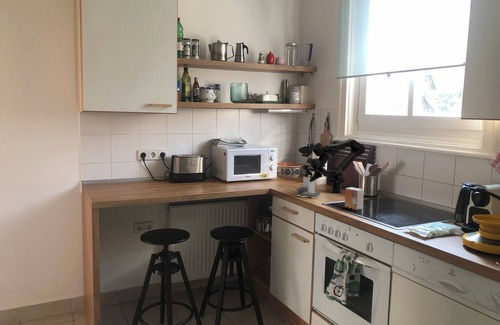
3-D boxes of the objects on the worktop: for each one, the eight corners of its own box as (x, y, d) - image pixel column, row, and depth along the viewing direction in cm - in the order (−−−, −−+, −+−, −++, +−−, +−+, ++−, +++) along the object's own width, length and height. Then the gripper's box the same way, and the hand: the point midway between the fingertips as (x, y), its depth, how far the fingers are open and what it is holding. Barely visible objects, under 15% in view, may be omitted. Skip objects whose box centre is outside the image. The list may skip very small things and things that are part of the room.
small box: (344, 207, 223) (344, 188, 222) (350, 205, 227) (351, 186, 225) (356, 210, 217) (357, 190, 216) (363, 208, 221) (363, 189, 219)
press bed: (303, 193, 259) (303, 185, 259) (319, 195, 254) (319, 187, 253) (296, 196, 251) (296, 188, 250) (313, 198, 245) (313, 190, 245)
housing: (309, 190, 255) (309, 174, 254) (314, 191, 251) (315, 175, 249) (303, 191, 252) (303, 174, 251) (308, 192, 248) (308, 176, 247)
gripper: (304, 151, 258) (290, 170, 254) (324, 154, 243) (310, 174, 238) (314, 163, 264) (300, 182, 259) (334, 166, 248) (320, 186, 244)
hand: (307, 181), depth 250 cm, fingers closed on housing, 5 cm apart
